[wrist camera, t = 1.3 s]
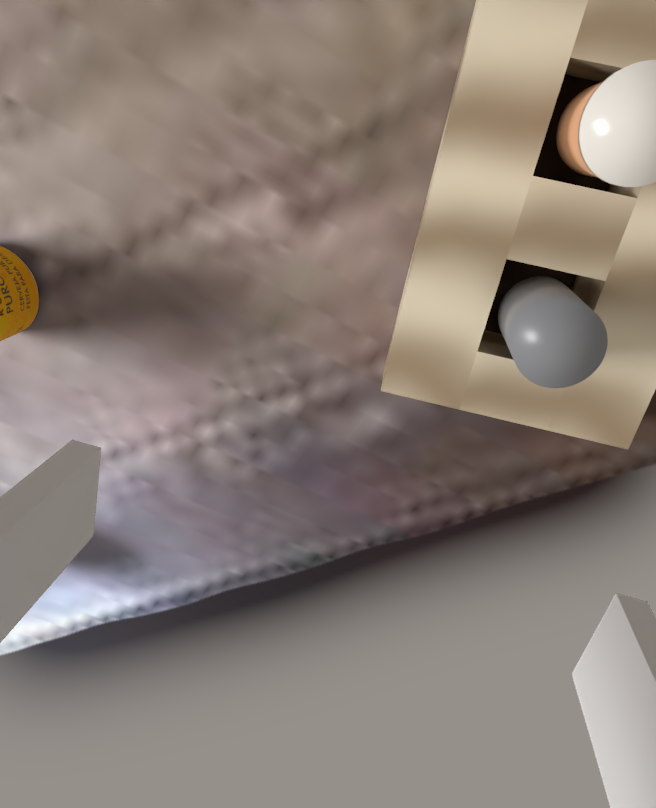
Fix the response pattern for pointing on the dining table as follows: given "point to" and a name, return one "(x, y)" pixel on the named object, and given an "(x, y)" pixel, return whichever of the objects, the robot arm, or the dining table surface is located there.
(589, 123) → the plug terracotta
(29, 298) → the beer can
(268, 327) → the dining table surface
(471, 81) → the socket board
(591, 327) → the grey plug
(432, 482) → the dining table surface
